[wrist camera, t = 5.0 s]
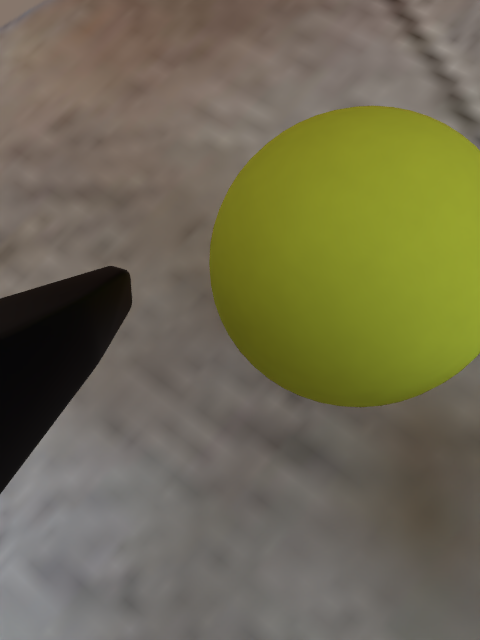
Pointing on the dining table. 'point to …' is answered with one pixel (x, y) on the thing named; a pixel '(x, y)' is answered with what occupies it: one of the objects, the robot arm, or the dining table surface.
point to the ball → (354, 256)
